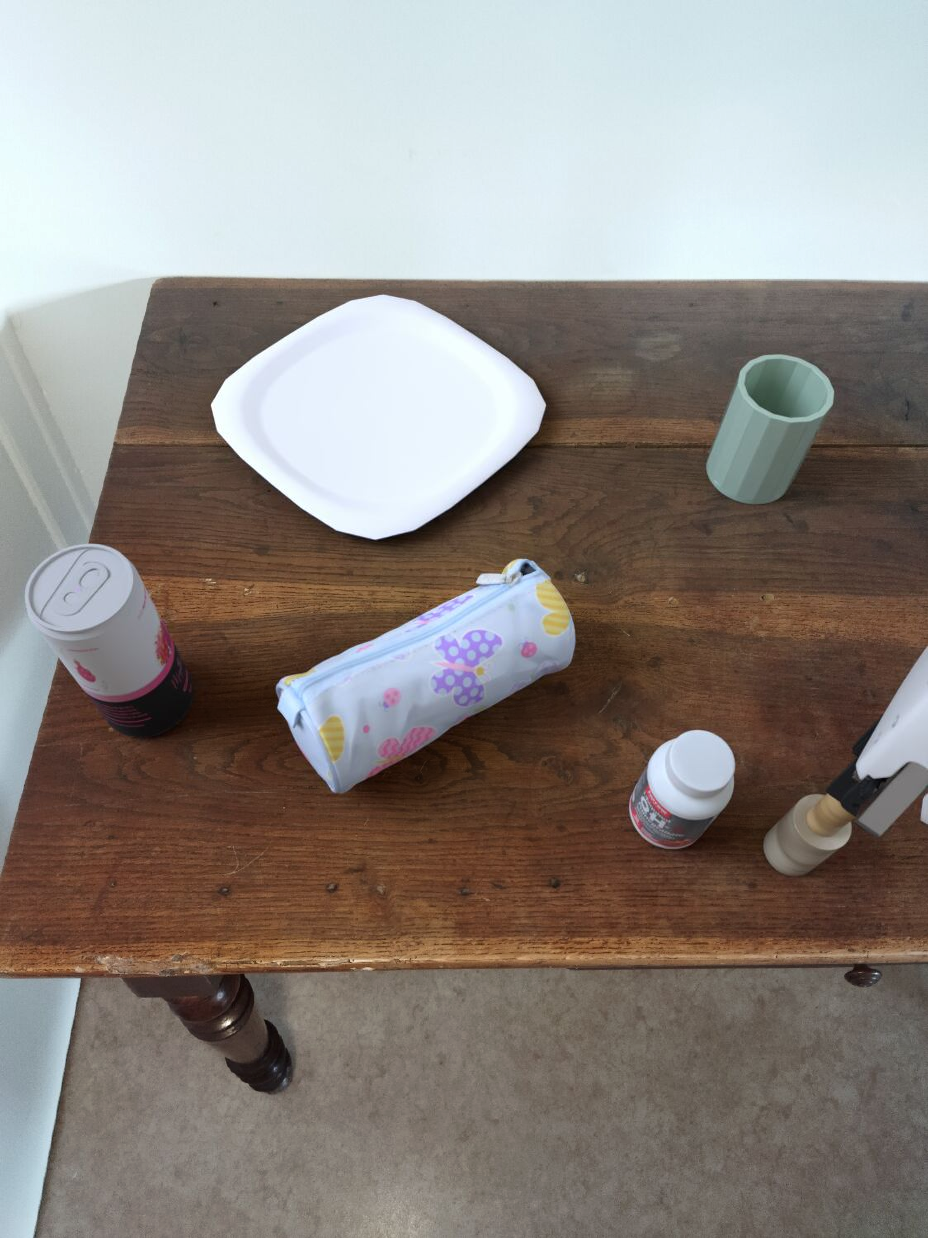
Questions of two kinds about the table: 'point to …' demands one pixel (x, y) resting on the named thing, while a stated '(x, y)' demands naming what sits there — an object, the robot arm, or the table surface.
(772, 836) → the wooden rod
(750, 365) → the cup
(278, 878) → the table surface
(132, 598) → the beverage can
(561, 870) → the table surface
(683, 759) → the pill bottle
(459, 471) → the plate
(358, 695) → the pencil case
